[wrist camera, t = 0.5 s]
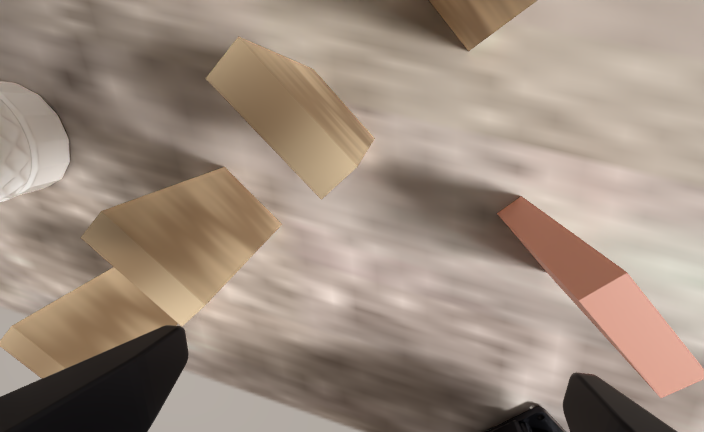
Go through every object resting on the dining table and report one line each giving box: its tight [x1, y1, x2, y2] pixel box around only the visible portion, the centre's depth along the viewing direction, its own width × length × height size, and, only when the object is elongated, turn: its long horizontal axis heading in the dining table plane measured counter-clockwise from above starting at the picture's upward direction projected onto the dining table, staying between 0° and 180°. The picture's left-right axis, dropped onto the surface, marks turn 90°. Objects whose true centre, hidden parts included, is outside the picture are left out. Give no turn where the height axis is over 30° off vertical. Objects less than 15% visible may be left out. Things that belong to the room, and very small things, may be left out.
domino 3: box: [206, 37, 375, 199], centre depth 14 cm, size 5×2×9 cm, turn 43°
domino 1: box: [0, 267, 178, 379], centre depth 19 cm, size 5×2×9 cm, turn 43°
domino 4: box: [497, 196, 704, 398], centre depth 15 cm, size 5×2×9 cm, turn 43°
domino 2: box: [81, 167, 282, 326], centre depth 17 cm, size 5×2×9 cm, turn 43°
